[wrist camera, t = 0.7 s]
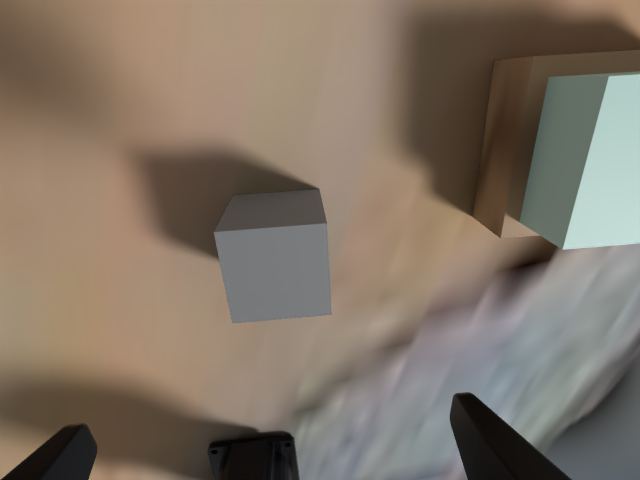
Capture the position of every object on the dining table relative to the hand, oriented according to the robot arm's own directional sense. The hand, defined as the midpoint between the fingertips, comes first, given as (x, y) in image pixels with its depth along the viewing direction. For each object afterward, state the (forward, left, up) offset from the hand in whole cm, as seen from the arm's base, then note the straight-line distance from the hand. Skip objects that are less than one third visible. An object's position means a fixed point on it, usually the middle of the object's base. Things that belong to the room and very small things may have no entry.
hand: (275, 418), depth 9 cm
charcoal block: (0, 0, -12) cm, 12 cm away
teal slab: (+4, -15, -9) cm, 18 cm away
